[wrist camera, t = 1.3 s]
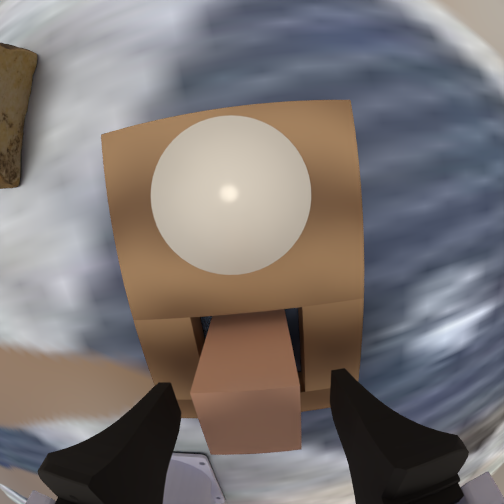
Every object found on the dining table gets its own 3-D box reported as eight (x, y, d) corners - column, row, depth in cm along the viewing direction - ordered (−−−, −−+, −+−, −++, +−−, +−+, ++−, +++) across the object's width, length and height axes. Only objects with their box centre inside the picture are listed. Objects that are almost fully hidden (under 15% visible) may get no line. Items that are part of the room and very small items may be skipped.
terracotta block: (287, 363, 17) (301, 449, 11) (224, 368, 18) (211, 454, 11) (283, 306, 16) (299, 385, 10) (213, 312, 17) (190, 393, 10)
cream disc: (314, 262, 14) (316, 266, 13) (168, 277, 14) (164, 281, 13) (299, 111, 12) (301, 108, 11) (147, 132, 12) (142, 130, 12)
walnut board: (347, 383, 18) (355, 402, 16) (173, 398, 18) (167, 417, 16) (339, 109, 14) (350, 100, 12) (117, 138, 14) (100, 134, 12)
